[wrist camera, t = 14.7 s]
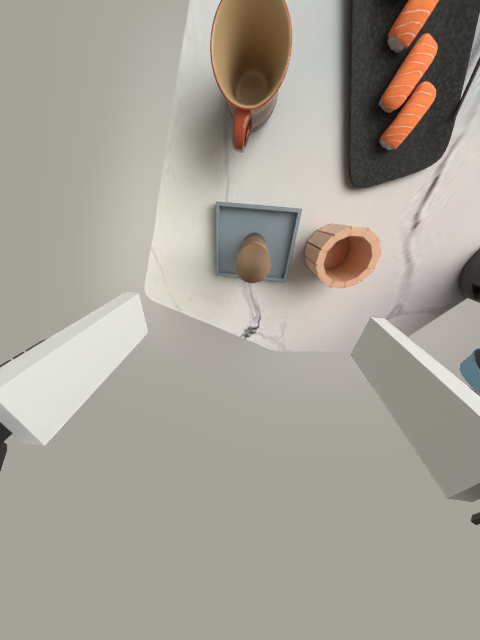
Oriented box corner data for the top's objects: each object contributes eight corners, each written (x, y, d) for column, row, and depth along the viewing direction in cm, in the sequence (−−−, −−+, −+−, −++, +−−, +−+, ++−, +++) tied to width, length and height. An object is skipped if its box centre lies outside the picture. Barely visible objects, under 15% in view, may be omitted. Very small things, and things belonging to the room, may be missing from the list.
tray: (299, 209, 35) (302, 208, 33) (284, 278, 42) (286, 281, 40) (218, 202, 35) (216, 201, 33) (217, 272, 42) (215, 275, 40)
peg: (266, 233, 36) (273, 248, 21) (263, 256, 39) (267, 284, 23) (244, 231, 37) (236, 244, 21) (243, 254, 39) (234, 281, 24)
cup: (362, 226, 35) (392, 230, 27) (343, 275, 40) (364, 290, 33) (312, 222, 35) (327, 224, 28) (299, 271, 41) (309, 285, 33)
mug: (230, 47, 25) (216, -40, 17) (288, 65, 26) (305, -11, 17) (217, 157, 32) (202, 135, 23) (265, 170, 32) (268, 153, 23)
